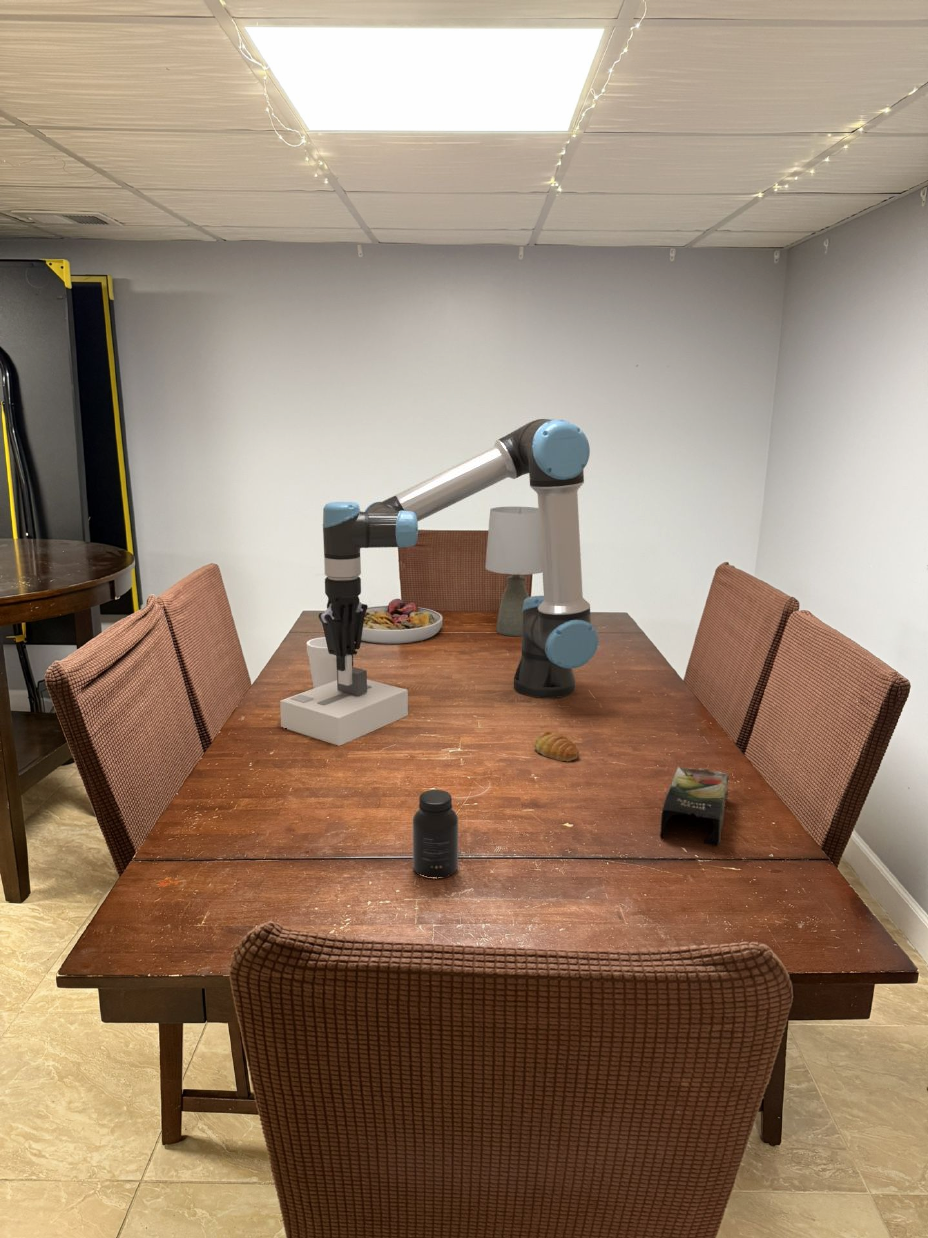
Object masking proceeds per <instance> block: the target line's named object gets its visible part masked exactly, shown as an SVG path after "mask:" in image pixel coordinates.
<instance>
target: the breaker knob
mask: <svg viewBox="0 0 928 1238" xmlns="http://www.w3.org/2000/svg"><path fill="white" fill-rule="evenodd" d="M367 680H368V670H366V669H362V668H359V667H355V666H353V668H352V684H351V685H348V686H347V685H343V684H339V683H338V670H337V690H338V691H342V692H346V693H349V694H353V695H356V696H359V695H361V694H364V693H366V692H367Z"/></svg>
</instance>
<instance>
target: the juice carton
mask: <svg viewBox="0 0 928 1238" xmlns="http://www.w3.org/2000/svg"><path fill="white" fill-rule="evenodd" d="M728 787H729V774H728V773H724V772H721V771H711V770H710V769H707V768H693V767H692V768H691V767H680V766H677V767H676V770H675V773H674V775H673V778H672V781H671V782H670V786H669V788H668V790H667V792H666V796H665V799H664V802H663V806H662V811H661V818H660V830H659V838H660V837H661V838H663V834H664V831H665V827H666V825H667V823H668V820H669V819H670V818H671V817H672V816H675V815H689V816H691V815H692V814H693V815H695V817H696V818H698V819H701V818H703V819H709V820H711V821H712V822H713V829H712V832H711V834H710V835H709V836H708V837H707V838H705V839H704V844H707V845H710V844H711V845H710V846H713V845H714V847H718V846H719V845H720V843H721V842H722V841H721V840H722V831H721V830H723V827H724V818H725V808H724V807H726V806H725V805H726V803H724V802H725V801H726V802H727V800H728V798H729V792H728V791H729V789H728ZM661 838H660V839H661Z"/></svg>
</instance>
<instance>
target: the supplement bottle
mask: <svg viewBox="0 0 928 1238" xmlns="http://www.w3.org/2000/svg"><path fill="white" fill-rule="evenodd" d="M418 799H419V800H418V802H419V803H418V810H417V811H416V812H415V813H414V815H413V818H412V864H413V865H412V867H413V869H414V871H416V872H417V873H418V874H421V875H424V876H427V877H437V878H438V877H446V876H448V875H451V874H452V875H454V874H453V873H454V872H455V873H456V871H457V870H458V866H459V817H458V815H457V813H456V812H455V811H454V810H453V802H452V795H451V794H450V793H449V792H448V791H446V790H442V789H429V790H426V791H424V792H422V793H421V794H420V795H419V798H418ZM416 872H415V873H416ZM417 873H416V874H417ZM418 874H417V875H418ZM452 875H451V876H452Z"/></svg>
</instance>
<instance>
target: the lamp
mask: <svg viewBox="0 0 928 1238" xmlns="http://www.w3.org/2000/svg"><path fill="white" fill-rule="evenodd" d="M488 519H489V520H488V530H487V544H486V555H485V567H484V568H485V570H487V571H489V572H492V573H495V574H496V573H497V574H502V575H510V576H507V577H505V579H506V583H507V585H506V587H505V589H504V591H503V594H502V596H501V599H500V605H499V609H498V615H497V620H496V621H497V622H496V632H497V633H498V634H499V635H503V636H508V637H522V620H523V613H522V609H523V603H524V600H525V599H526V598H528V597H530V596H529V593H528V590H527V588H526V585H525V582H526V581H527V578H526V577H524V576H525V575H526V576H527V575H535V574H541V573H542V557H541V541H540V525H539V509H538V507H530V506H497V507H492V508H490V510H489V518H488ZM542 574H543V573H542ZM522 575H523V576H522Z"/></svg>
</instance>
